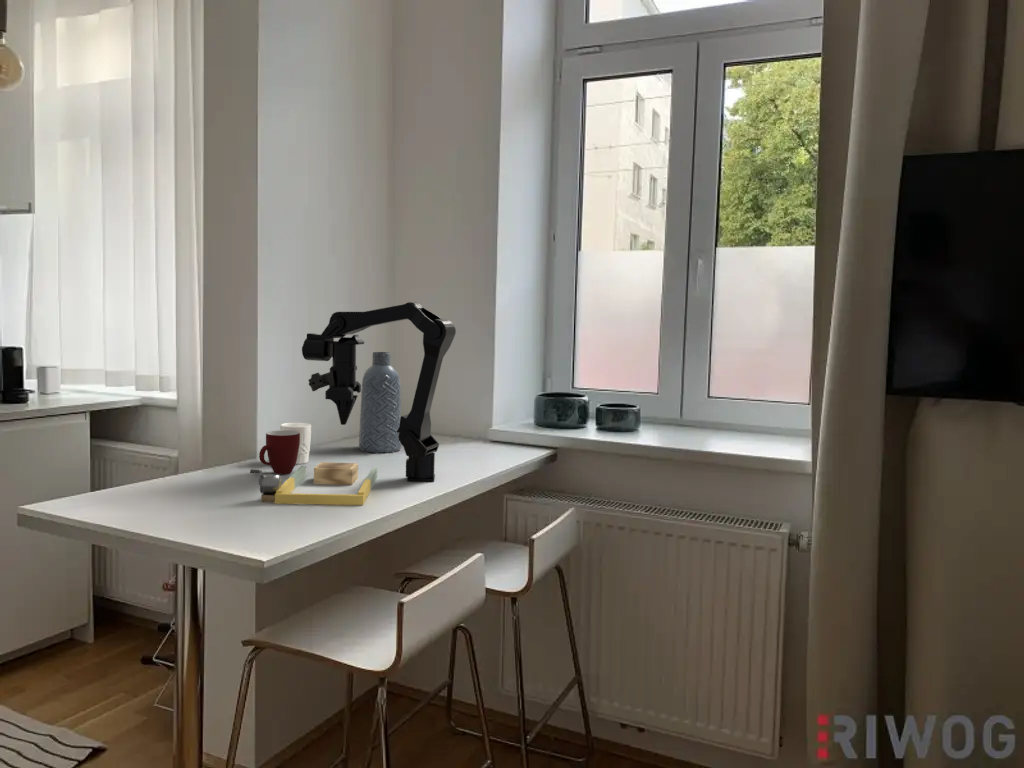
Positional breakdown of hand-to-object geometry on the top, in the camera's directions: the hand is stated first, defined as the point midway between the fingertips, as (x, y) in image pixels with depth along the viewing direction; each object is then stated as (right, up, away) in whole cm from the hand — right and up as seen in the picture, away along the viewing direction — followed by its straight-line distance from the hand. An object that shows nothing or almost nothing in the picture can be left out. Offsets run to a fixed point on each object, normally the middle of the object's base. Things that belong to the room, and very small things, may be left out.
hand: (343, 424), depth 207 cm
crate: (0, -13, -10) cm, 17 cm away
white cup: (-15, -11, +11) cm, 22 cm away
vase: (+4, -9, +33) cm, 35 cm away
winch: (-11, -15, -30) cm, 35 cm away
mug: (-15, -12, -4) cm, 20 cm away
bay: (+1, -14, -19) cm, 23 cm away
